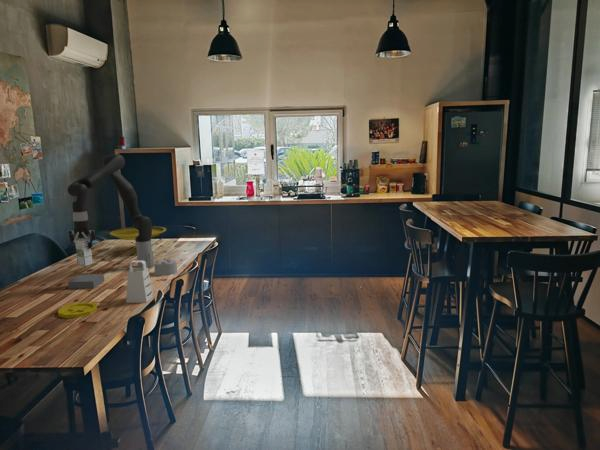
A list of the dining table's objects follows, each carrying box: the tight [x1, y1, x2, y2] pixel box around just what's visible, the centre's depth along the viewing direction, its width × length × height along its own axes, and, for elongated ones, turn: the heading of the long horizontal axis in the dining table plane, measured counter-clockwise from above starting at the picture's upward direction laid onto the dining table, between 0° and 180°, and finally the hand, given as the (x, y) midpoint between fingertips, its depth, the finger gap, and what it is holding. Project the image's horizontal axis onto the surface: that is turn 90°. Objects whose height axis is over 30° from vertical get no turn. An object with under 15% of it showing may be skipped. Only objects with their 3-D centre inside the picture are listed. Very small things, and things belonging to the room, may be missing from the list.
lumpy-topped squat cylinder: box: [153, 257, 178, 277], centre depth 288 cm, size 10×13×9 cm
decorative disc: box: [57, 301, 98, 319], centre depth 224 cm, size 17×18×2 cm
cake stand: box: [109, 225, 167, 254], centre depth 348 cm, size 40×40×15 cm
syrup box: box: [75, 238, 93, 267], centre depth 264 cm, size 6×6×14 cm
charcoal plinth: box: [67, 273, 105, 290], centre depth 267 cm, size 14×14×4 cm
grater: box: [125, 259, 154, 304], centre depth 240 cm, size 10×10×20 cm
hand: (83, 248), depth 263 cm, fingers closed on syrup box, 6 cm apart
